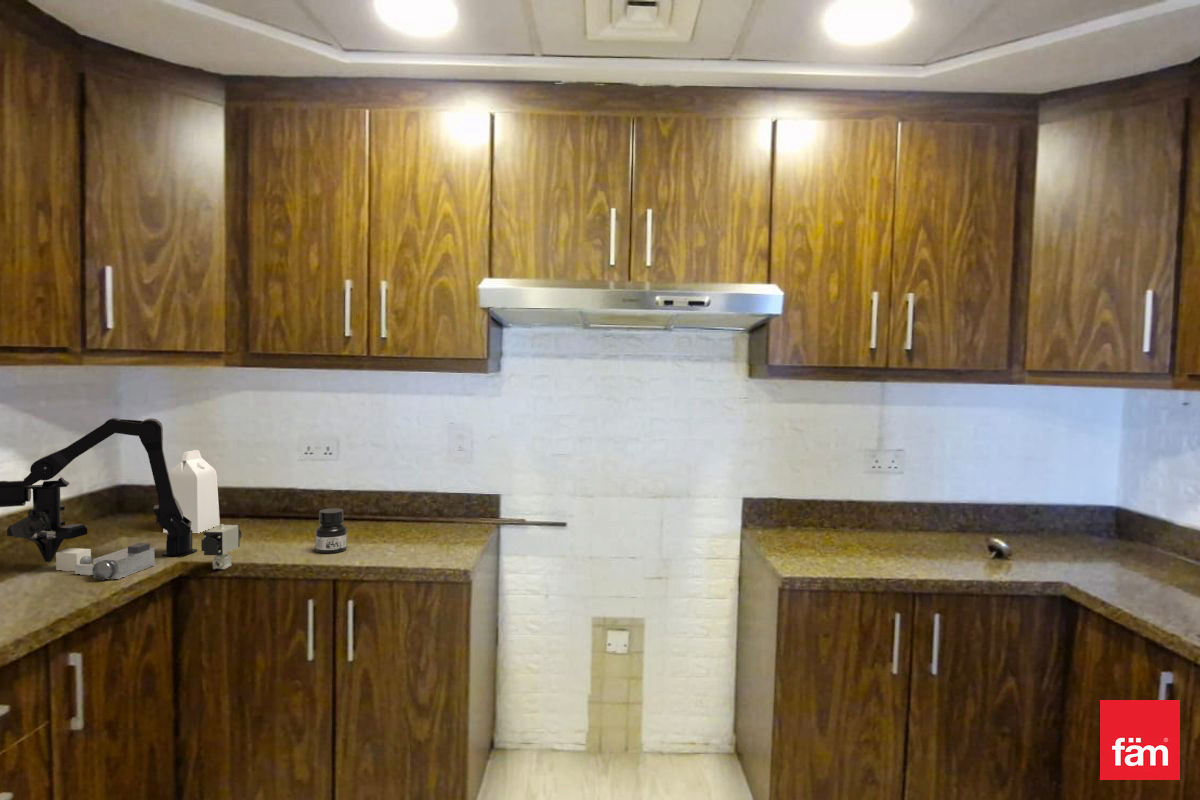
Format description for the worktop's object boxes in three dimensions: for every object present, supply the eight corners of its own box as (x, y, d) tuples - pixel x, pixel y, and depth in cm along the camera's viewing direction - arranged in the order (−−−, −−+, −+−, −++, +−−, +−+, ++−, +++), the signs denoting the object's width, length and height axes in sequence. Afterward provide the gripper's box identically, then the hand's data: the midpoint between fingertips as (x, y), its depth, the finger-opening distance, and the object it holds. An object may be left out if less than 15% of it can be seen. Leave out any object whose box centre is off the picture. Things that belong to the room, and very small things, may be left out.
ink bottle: (313, 555, 199) (313, 514, 198) (314, 547, 207) (314, 508, 206) (348, 552, 202) (349, 512, 202) (348, 545, 211) (348, 506, 210)
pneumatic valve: (242, 561, 191) (242, 519, 190) (218, 574, 179) (217, 529, 179) (223, 561, 191) (222, 519, 190) (197, 574, 179) (197, 529, 179)
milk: (186, 524, 232) (186, 448, 231) (219, 525, 232) (219, 449, 231) (163, 532, 220) (162, 452, 219) (197, 533, 220) (196, 453, 219)
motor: (107, 563, 187) (107, 539, 187) (154, 566, 185) (154, 542, 185) (63, 578, 173) (62, 553, 173) (113, 581, 172) (112, 556, 172)
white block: (70, 566, 184) (70, 547, 184) (95, 567, 183) (94, 549, 183) (56, 571, 180) (55, 552, 179) (81, 572, 179) (80, 553, 179)
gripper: (-15, 508, 175) (-13, 568, 175) (50, 512, 172) (52, 572, 173) (26, 500, 186) (28, 556, 187) (88, 503, 184) (89, 560, 184)
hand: (48, 561), depth 182 cm, fingers closed
